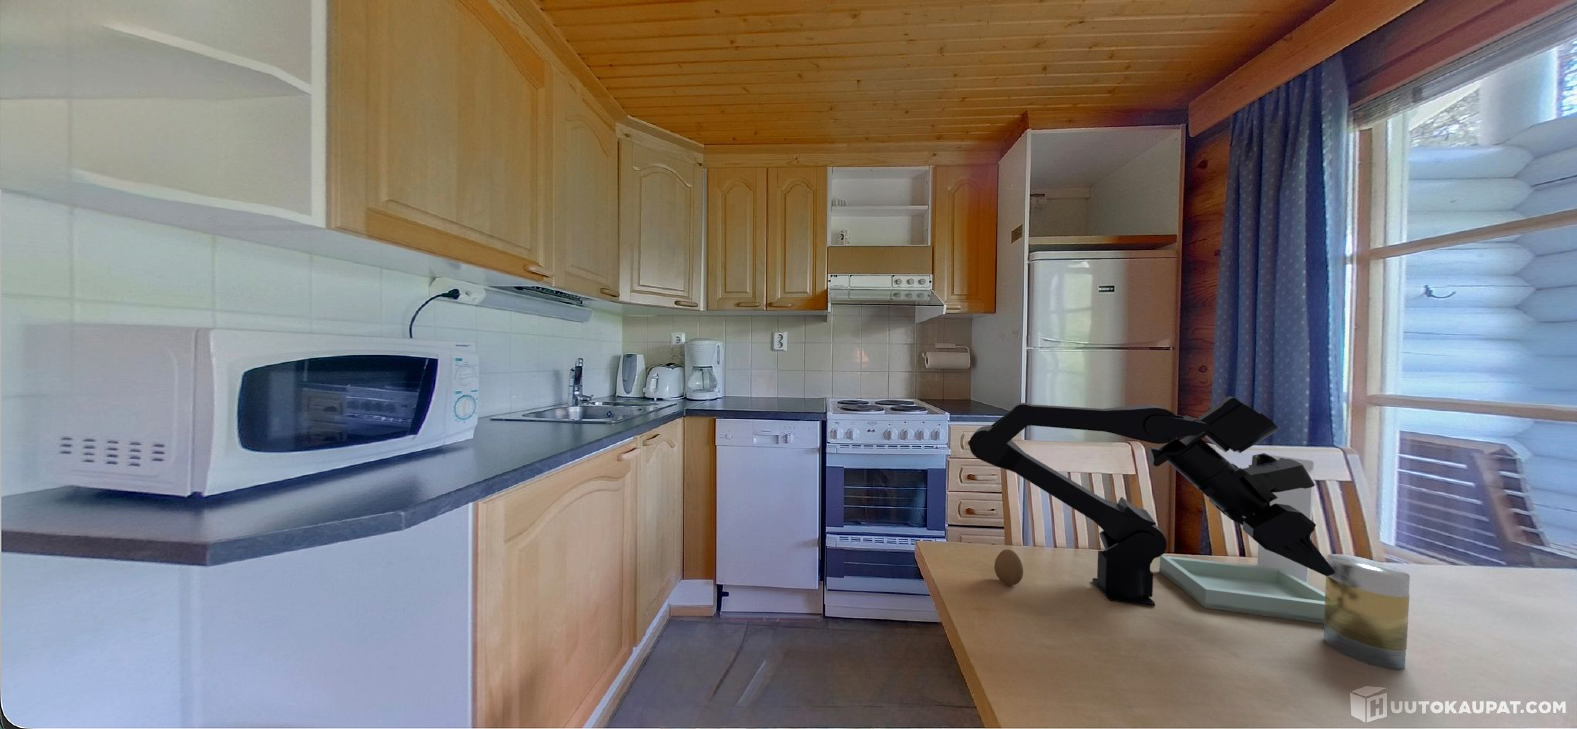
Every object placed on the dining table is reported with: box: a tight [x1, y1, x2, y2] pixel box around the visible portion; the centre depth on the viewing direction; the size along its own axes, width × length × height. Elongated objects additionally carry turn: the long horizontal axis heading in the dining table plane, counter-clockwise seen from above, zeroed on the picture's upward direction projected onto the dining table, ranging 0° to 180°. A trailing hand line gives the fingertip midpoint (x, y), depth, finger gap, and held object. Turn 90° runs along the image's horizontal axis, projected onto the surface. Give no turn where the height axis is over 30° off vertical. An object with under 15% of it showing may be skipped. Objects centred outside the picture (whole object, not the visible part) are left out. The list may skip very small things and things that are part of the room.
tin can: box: [1323, 553, 1411, 671], centre depth 58 cm, size 7×7×12 cm
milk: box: [1256, 454, 1315, 584], centre depth 79 cm, size 6×6×22 cm
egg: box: [993, 548, 1024, 586], centre depth 74 cm, size 4×4×6 cm
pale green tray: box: [1159, 554, 1325, 625], centre depth 71 cm, size 18×12×3 cm, turn 76°
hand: (1311, 560), depth 60 cm, fingers open, 9 cm apart
